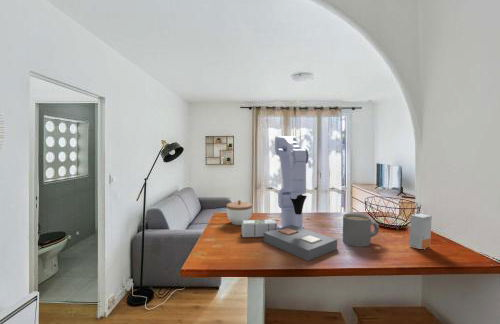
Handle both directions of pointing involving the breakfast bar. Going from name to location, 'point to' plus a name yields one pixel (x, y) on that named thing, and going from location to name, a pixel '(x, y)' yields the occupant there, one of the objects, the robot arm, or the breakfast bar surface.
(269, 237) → the key board
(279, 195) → the robot arm
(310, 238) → the cream key
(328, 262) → the breakfast bar surface
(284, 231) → the terracotta key
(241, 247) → the breakfast bar surface
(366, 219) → the coffee mug
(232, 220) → the lidded bowl
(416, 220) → the skincare box
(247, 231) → the syrup box
